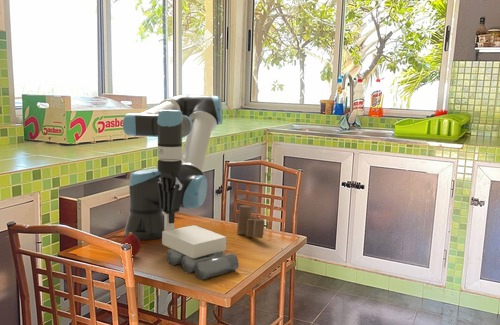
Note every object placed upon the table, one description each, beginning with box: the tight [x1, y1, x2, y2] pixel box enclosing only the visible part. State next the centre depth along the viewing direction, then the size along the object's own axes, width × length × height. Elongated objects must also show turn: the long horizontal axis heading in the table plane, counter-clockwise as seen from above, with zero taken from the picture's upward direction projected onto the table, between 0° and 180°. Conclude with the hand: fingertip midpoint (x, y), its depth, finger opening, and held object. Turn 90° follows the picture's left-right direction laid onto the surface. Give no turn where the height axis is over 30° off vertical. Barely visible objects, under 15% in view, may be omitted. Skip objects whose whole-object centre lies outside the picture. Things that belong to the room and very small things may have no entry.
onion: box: [121, 232, 142, 257], centre depth 149 cm, size 6×6×8 cm
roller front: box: [181, 251, 225, 274], centre depth 142 cm, size 5×12×5 cm, turn 133°
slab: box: [161, 224, 227, 258], centre depth 145 cm, size 16×12×4 cm
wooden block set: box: [236, 204, 265, 239], centre depth 175 cm, size 18×9×10 cm, turn 12°
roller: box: [194, 252, 240, 281], centre depth 137 cm, size 5×12×5 cm
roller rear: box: [166, 248, 186, 266], centre depth 148 cm, size 5×12×5 cm, turn 133°
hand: (169, 232), depth 154 cm, fingers closed
